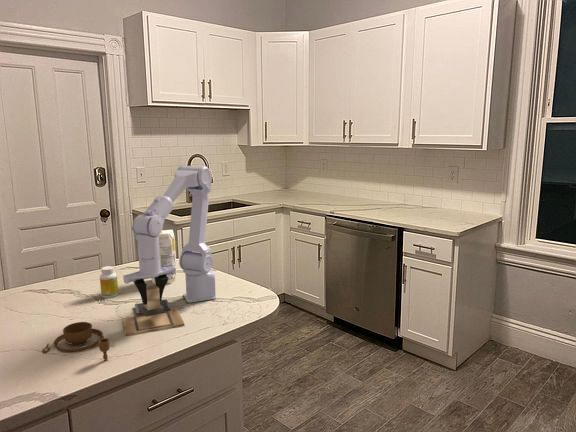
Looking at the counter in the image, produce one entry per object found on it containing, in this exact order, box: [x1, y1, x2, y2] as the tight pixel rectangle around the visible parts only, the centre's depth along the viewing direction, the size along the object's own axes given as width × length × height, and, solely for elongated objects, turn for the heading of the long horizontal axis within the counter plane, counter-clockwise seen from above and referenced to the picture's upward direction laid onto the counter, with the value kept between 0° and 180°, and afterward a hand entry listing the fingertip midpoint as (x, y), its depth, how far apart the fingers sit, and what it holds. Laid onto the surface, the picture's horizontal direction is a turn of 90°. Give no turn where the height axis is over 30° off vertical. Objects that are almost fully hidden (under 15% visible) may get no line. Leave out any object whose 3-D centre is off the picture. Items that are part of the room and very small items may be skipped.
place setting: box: [41, 321, 115, 363], centre depth 115 cm, size 18×20×6 cm
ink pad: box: [134, 299, 172, 316], centre depth 140 cm, size 10×8×1 cm
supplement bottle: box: [99, 265, 119, 299], centre depth 151 cm, size 5×5×10 cm
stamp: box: [141, 284, 164, 317], centre depth 129 cm, size 5×5×8 cm
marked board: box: [122, 309, 185, 337], centre depth 131 cm, size 16×11×1 cm
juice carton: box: [150, 229, 177, 285], centre depth 164 cm, size 8×9×19 cm
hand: (152, 301), depth 129 cm, fingers closed on stamp, 4 cm apart
